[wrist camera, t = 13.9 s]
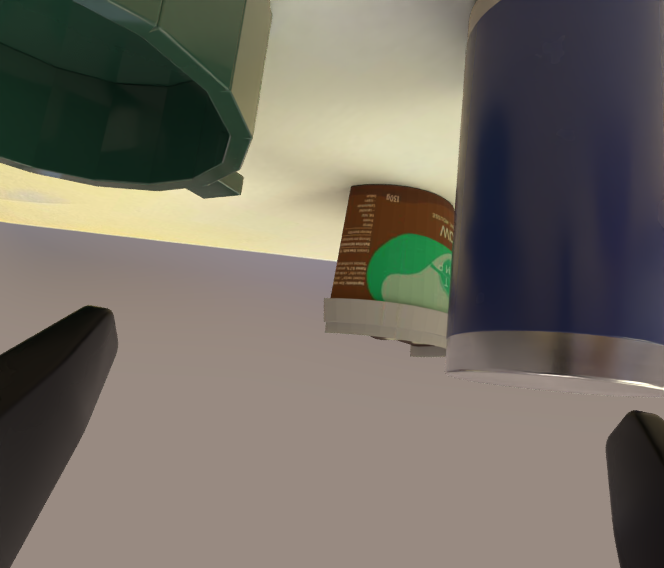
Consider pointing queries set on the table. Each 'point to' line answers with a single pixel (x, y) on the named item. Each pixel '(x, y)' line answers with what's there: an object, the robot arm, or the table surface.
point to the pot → (132, 90)
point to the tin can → (561, 199)
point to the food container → (394, 268)
